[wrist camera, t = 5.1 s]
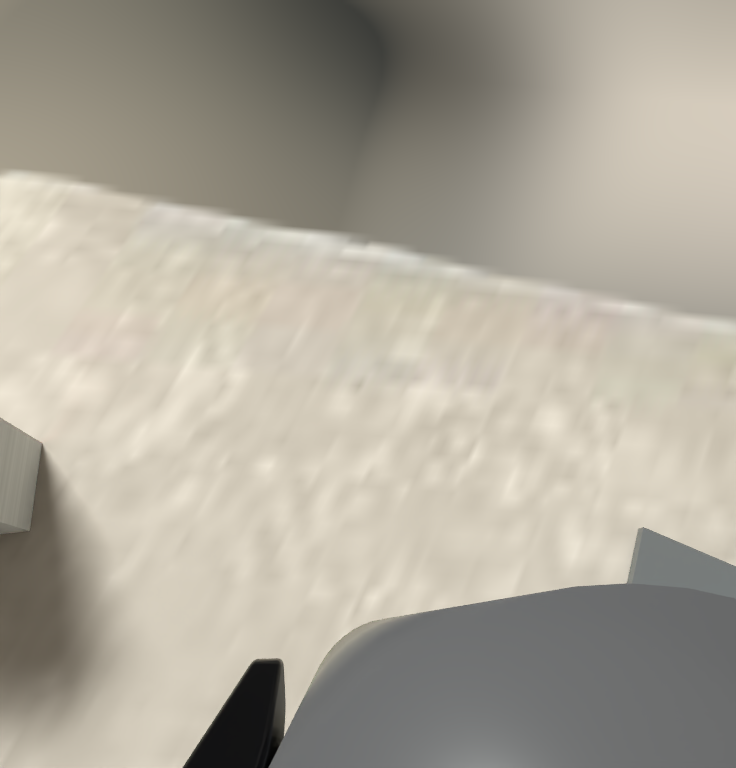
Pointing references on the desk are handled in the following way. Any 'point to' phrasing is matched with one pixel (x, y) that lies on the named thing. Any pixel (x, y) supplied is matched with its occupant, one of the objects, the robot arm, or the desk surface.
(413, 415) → the desk surface
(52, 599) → the desk surface
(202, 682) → the desk surface
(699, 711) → the plug
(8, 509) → the grey chamfered block
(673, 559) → the dock
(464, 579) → the desk surface
